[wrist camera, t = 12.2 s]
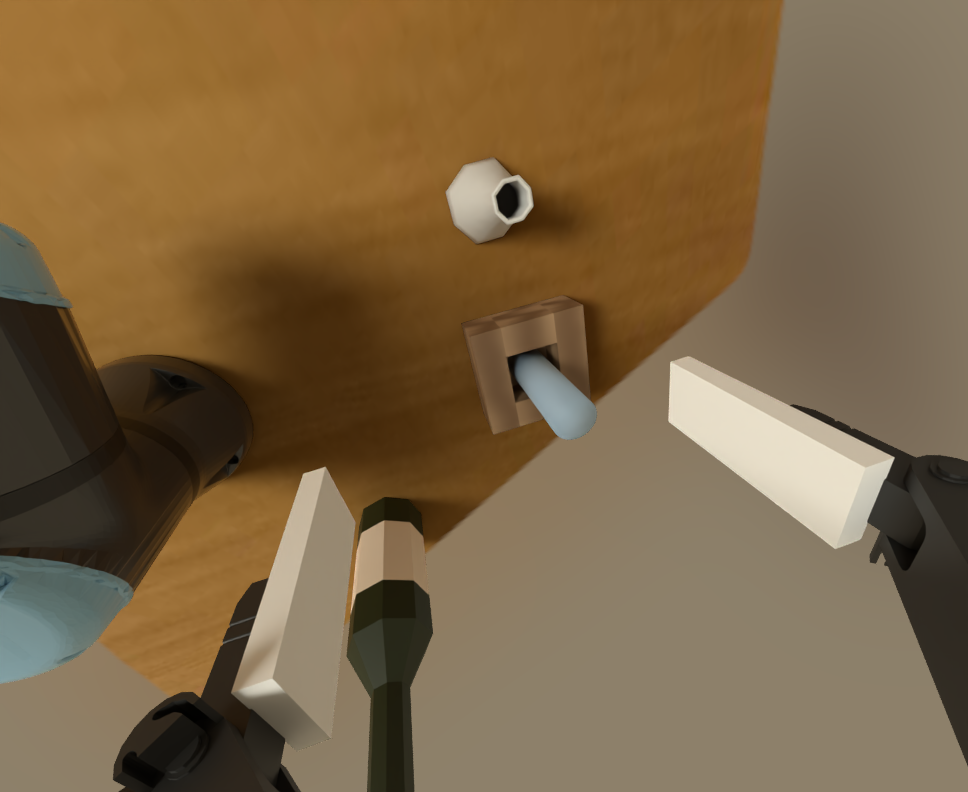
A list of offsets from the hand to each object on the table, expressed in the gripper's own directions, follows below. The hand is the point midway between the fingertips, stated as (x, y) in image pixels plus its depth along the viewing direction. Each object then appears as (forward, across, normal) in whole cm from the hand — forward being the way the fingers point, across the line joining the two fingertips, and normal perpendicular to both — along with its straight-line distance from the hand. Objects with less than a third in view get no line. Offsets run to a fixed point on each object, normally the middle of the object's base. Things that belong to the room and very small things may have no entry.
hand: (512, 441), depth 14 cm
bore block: (+29, +8, -10) cm, 31 cm away
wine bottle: (+29, -14, -28) cm, 43 cm away
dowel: (+28, +8, -10) cm, 31 cm away
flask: (+29, +7, +7) cm, 31 cm away
